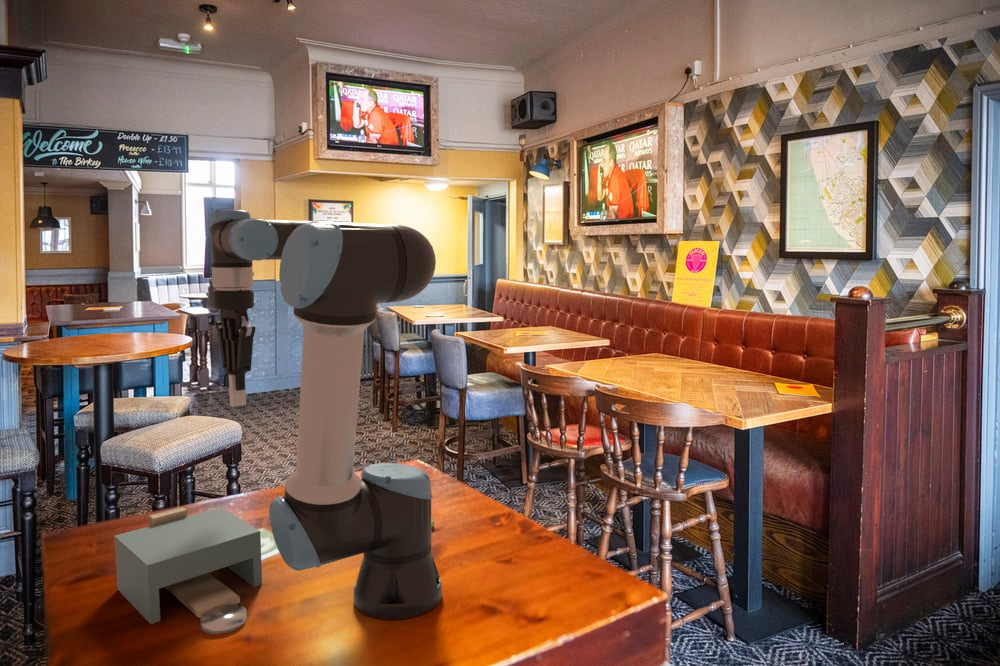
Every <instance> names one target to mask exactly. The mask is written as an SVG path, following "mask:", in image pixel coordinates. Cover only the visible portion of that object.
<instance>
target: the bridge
mask: <svg viewBox="0 0 1000 666" xmlns="http://www.w3.org/2000/svg"><path fill="white" fill-rule="evenodd" d="M113 537H114V551H115V552H114V554H115V568H116V569H115V570H116V581H117V582H116V584H117V591H118V592H119V591H120V592H119V593H121V595H122V596H123V597H124V598H125V599H126V600H127V601H128V602H129V603H130V604H131V606H133V608H135V610H136V611H137V612H138V613H139V614H140V615H141V616H142V617H143V619H145V620H146V621H147V623H149V624H150V625H153V624H157V623H158V622H161V606H160V589H162V588H165V587H166V586H169V585H172V584H175V583H178V582H181V581H184V580H187V579H190V578H193V577H196V576H199V575H202V574H205V573H208V572H209V573H211V572H213V571H217V570H221V569H223V568H228V569H229V570H231V571H232V572H234V574H236V575H237V576H238V577H240V578H242V579H243V580H244V581H246V582H247V583H248V584H249V585H251V586H252V587H253V588H256V587H258V586H259V587H260V586H261V585H263V573H262V572H263V571H262V570H263V569H262V545H261V544H262V542H261V541H262V540H261V531H260V530H259V529H257V528H256V527H254V526H252V525H251V524H249V523H248V522H246V521H244V520H243V519H242V518H240V517H238V516H236V515H235V514H233V513H232V512H229V510H227V509H225V508H223V507H217V508H214V509H210V510H206V511H202V512H201V511H200V512H198V513H194V514H191V515H187V516H186V517H183V518H179V519H175V520H171V521H168V522H164V523H160V524H156V525H153V526H150V525H149V526H145V527H142V528H138V529H134V530H131V531H127V532H123V533H119V534H115V535H113Z"/></svg>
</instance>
